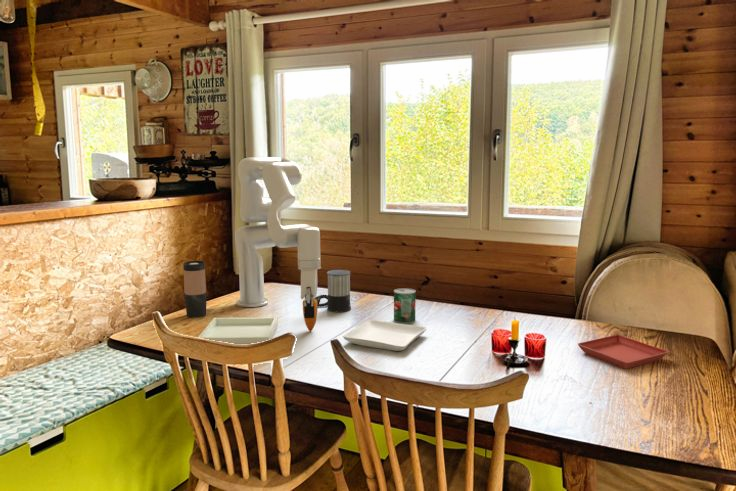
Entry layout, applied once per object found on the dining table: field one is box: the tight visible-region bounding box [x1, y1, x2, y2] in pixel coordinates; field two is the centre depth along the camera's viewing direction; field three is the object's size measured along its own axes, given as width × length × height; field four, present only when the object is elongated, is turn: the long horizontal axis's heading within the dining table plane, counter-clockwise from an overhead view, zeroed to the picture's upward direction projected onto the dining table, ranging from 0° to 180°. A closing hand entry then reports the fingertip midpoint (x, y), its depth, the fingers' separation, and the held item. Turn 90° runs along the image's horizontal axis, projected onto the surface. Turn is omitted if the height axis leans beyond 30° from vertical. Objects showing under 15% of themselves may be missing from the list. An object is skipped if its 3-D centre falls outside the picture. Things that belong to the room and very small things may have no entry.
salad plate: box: [342, 319, 427, 352], centre depth 184 cm, size 21×21×3 cm
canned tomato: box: [393, 287, 417, 325], centre depth 206 cm, size 8×8×11 cm
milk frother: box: [315, 269, 352, 313], centre depth 222 cm, size 14×16×15 cm
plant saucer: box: [577, 334, 669, 370], centre depth 169 cm, size 18×18×3 cm
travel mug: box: [182, 260, 207, 319], centre depth 212 cm, size 8×8×20 cm
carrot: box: [302, 299, 318, 332], centre depth 193 cm, size 5×5×15 cm
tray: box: [197, 316, 279, 344], centre depth 189 cm, size 22×22×3 cm
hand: (310, 313), depth 193 cm, fingers open, 9 cm apart
